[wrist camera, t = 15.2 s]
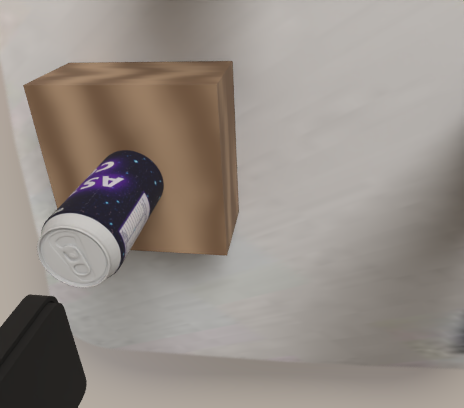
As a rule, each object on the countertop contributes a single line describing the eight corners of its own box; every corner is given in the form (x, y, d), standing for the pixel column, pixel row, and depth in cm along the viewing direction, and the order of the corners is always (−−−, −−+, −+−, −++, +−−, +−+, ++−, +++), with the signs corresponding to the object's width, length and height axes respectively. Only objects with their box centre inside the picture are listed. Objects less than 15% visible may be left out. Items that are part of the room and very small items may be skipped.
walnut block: (232, 61, 41) (216, 84, 34) (238, 211, 49) (226, 255, 42) (68, 62, 43) (23, 85, 36) (100, 205, 51) (68, 246, 44)
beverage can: (150, 138, 37) (89, 212, 27) (176, 196, 39) (130, 284, 29) (92, 155, 38) (14, 232, 28) (121, 210, 41) (59, 299, 31)
